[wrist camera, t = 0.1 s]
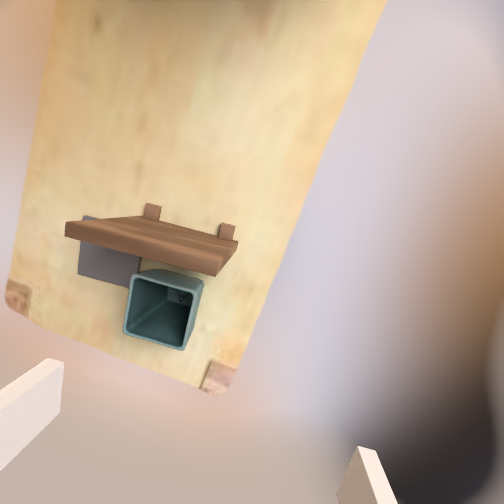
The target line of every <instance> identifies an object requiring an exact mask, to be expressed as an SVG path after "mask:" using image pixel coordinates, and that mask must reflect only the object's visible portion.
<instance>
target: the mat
mask: <svg viewBox="0 0 504 504" xmlns="http://www.w3.org/2000/svg"><path fill="white" fill-rule="evenodd" d="M96 219H97V218H94V217H90V216H83V220H96ZM140 260H141V257H140V256H136V255H133V254H129V253H125V252H121V251H118V250H114V249H110V248H107V247H103V246H99V245H95V244H92V243H88V242H84V241H81V244H80V254H79V265H78V274H80V275H83V276H87V277H91V278H94V279H98V280H102V281H105V282H109V283H113V284H116V285H120V286H124V287H127V288H130V280H131V277H132V275H133V274H136V273H139V266H140Z"/></svg>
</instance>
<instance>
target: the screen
mask: <svg viewBox="0 0 504 504" xmlns="http://www.w3.org/2000/svg"><path fill="white" fill-rule="evenodd" d="M160 212H161V206H157V205H153V204H150V203H146V206H145V212H144V216H133V217H121V218H108V219H96V220H83V221H71V222H66V225H65V236H66V237H69V238H73V239H77V240H81V241H84V242H88V243H92V244H95V245H99V246H103V247H107V248H110V249H114V250H118V251H121V252H125V253H129V254H133V255H136V256H140V257H144V258H147V259H151V260H155V261H159V262H162V263H166V264H170V265H173V266H177V267H181V268H185V269H188V270H192V271H196V272H200V273H203V274H207V275H211V276H214V277H215V276H216V275H217V274H218V273H219V271H220V270H221V269H222V268H223V266H224V265H225V264H226V263H227V261H228V260H229V259H230V258H231V256H232V255H233V254H234V252H235V251H236V249H237V245H238V241H235V240H232V238H233V234H234V230H235V226H234V225H230V224H226V223H222V224H221V228H220V233H219V236H216V235H212V234H208V233H204V232H200V231H197V230H193V229H189V228H185V227H181V226H178V225H174V224H170V223H166V222H162V221H159V218H160Z"/></svg>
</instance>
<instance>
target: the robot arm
mask: <svg viewBox="0 0 504 504" xmlns="http://www.w3.org/2000/svg"><path fill="white" fill-rule="evenodd" d="M63 372H64V362H61V361H58V360H54V359H51V358H47V359H45V360H44V361H42V362H41V363H39V364H38V365H37V366H35V367H34V368H32V369H31V370H29V371H28V372H26V373H25V374H23V375H22V376H20V377H19V378H18V379H16V380H14V381H13V382H12V383H10V384H9V385H7V386H6V387H4V388H3V389H1V390H0V471H1V470H2V469H3V468H4V467H5V466H6V465H7V464H8V463H9V462H10V461H11V460H12V459H13V458H14V457H15V456H16V455H17V454H18V453H19V452H20V451H21V450H22V449H23V448H24V447H26V446H27V445H28V444H29V443H30V442H31V441H32V440H33V438H35V437H36V436H37V435H38V434H39V432H41V431H42V430H43V429H44V428H45V427H46V426H47V425H48V424H49V423H50V422H51V421H52V420H53V419H54V418H55V417H56V416H57V415H58V414H59V413H60V405H61V395H62V383H63ZM337 496H338V502H339V504H397V501H396V499H395V497H394V494H393V492H392V490H391V487H390V485H389V482H388V480H387V478H386V475H385V473H384V470H383V468H382V466H381V464H380V461H379V459H378V456H377V454H376V451H374V450H370V449H367V448H363V447H360V446H357V448H356V450H355V453H354V455H353V457H352V460H351V462H350V464H349V467H348V469H347V471H346V474H345V476H344V478H343V481H342V483H341V485H340V488H339V490H338V492H337Z"/></svg>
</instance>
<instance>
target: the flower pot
mask: <svg viewBox="0 0 504 504" xmlns="http://www.w3.org/2000/svg"><path fill="white" fill-rule="evenodd" d="M203 286H204V283H203V281H202V280H200V279H196V278H192V277H189V276H185V275H182V274H178V273H175V272H171V271H168V270H164V269H152V270H148V271H144V272H140V273H136V274H133V275H132V277H131V280H130V288H129V295H128V301H127V307H126V312H125V318H124V324H123V333H125V334H126V335H129V336H132V337H136V338H140V339H143V340H147V341H151V342H154V343H157V344H161V345H164V346H167V347H170V348H173V349H177V350H184V349H185V347H186V345H187V342H188V340H189V338H190V335H191V333H192V331H193V328H194V325H195V320H196V316H197V311H198V307H199V302H200V298H201V294H202V290H203ZM173 288H175V290H174V289H173ZM191 293H192V294H193V295H192V294H191ZM180 298H182V299H183V301H181V300H180Z"/></svg>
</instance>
